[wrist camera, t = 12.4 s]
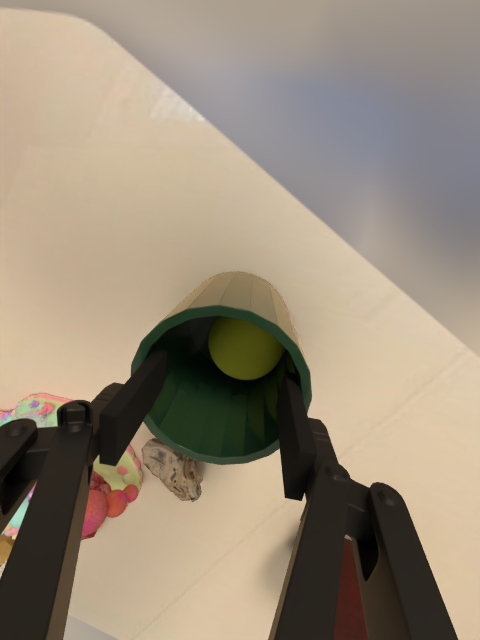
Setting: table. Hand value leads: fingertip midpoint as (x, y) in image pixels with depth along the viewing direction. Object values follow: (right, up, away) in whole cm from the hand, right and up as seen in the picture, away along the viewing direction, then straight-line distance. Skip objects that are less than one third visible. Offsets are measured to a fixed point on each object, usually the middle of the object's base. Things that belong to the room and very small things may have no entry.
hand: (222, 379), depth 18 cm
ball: (+2, +2, +7) cm, 7 cm away
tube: (+1, +4, +11) cm, 11 cm away
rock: (-6, -12, +17) cm, 22 cm away
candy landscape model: (-25, -16, +19) cm, 35 cm away
